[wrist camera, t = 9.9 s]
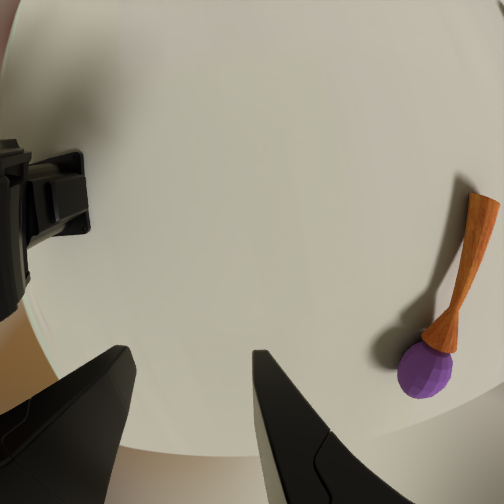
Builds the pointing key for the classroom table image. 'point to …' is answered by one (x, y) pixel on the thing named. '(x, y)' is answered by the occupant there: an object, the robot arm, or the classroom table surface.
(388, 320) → the classroom table surface
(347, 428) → the classroom table surface
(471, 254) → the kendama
